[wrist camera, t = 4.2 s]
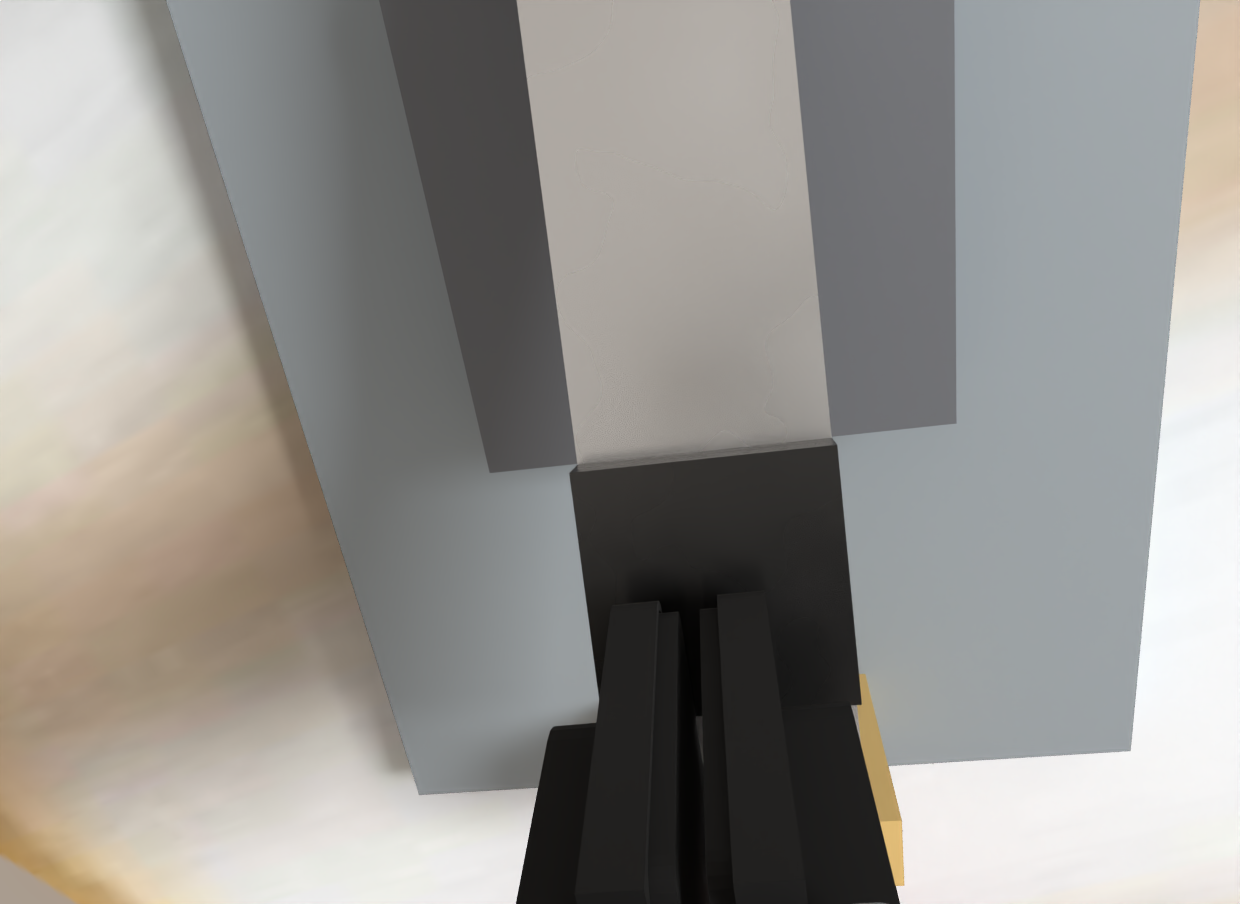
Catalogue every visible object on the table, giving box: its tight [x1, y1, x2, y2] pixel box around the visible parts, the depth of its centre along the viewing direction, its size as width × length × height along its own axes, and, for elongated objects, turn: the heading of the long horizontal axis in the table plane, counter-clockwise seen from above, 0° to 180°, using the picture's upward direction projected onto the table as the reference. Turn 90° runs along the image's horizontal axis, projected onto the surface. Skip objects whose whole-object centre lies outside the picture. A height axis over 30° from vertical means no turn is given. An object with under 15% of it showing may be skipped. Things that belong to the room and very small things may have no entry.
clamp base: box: [166, 0, 1200, 886], centre depth 15 cm, size 25×16×6 cm, turn 9°
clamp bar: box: [517, 0, 862, 760], centre depth 11 cm, size 19×4×2 cm, turn 8°
